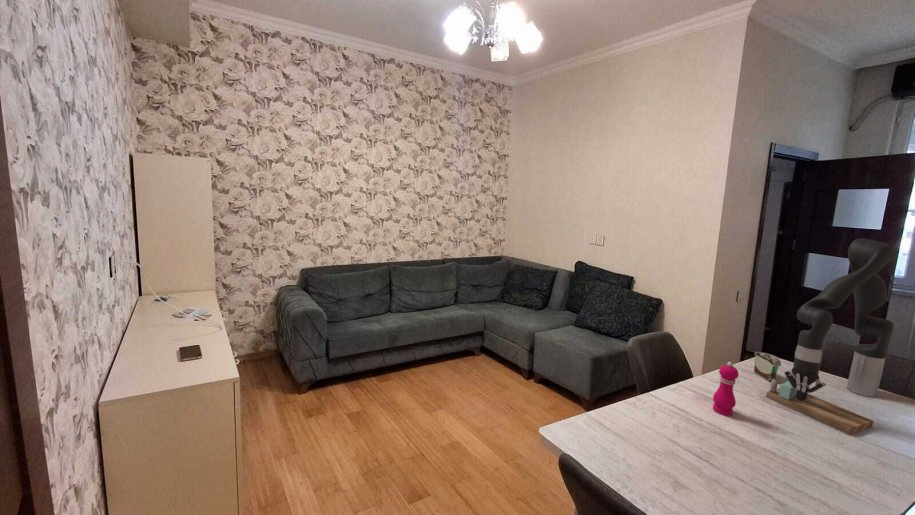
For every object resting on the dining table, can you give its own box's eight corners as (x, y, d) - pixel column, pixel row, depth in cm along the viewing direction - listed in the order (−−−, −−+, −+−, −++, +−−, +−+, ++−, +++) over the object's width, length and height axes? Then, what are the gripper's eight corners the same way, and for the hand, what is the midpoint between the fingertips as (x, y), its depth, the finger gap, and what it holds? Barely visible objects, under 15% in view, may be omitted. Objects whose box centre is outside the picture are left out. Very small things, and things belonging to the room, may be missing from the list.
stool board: (788, 391, 169) (792, 375, 168) (872, 427, 145) (876, 408, 143) (766, 397, 164) (769, 380, 163) (848, 434, 139) (852, 415, 138)
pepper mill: (726, 407, 155) (734, 358, 152) (737, 417, 148) (746, 367, 145) (707, 405, 156) (715, 357, 152) (717, 415, 149) (725, 365, 145)
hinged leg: (792, 387, 167) (794, 376, 166) (804, 392, 164) (806, 380, 163) (777, 395, 160) (779, 384, 159) (789, 400, 156) (791, 388, 156)
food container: (785, 384, 177) (789, 362, 175) (771, 383, 177) (774, 362, 175) (764, 371, 189) (768, 351, 187) (751, 370, 189) (754, 351, 187)
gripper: (834, 363, 148) (827, 406, 151) (793, 350, 160) (787, 390, 163) (823, 366, 145) (815, 410, 148) (782, 352, 157) (776, 393, 160)
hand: (800, 399), depth 156 cm, fingers closed
